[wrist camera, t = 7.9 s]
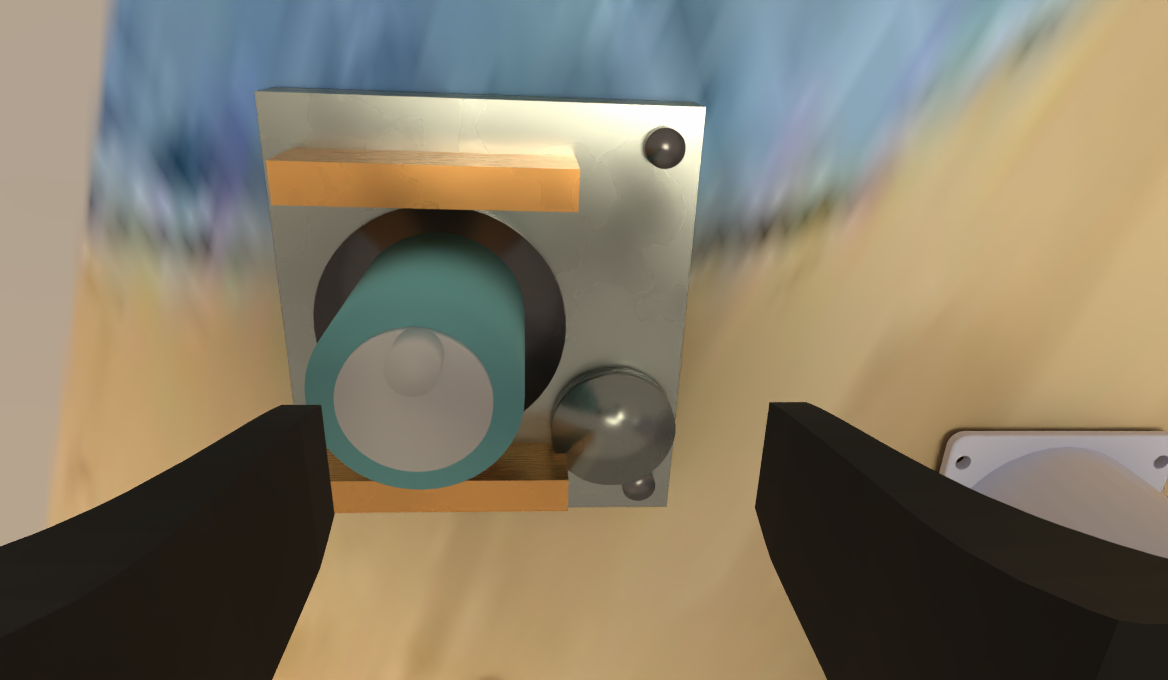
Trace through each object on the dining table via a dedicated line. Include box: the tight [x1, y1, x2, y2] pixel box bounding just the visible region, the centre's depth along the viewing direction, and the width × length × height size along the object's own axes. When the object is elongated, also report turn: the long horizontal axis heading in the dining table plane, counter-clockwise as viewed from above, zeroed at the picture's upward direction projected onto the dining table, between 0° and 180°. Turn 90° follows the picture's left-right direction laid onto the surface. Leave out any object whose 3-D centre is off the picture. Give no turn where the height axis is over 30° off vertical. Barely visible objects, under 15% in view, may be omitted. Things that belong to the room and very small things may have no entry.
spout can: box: [304, 232, 525, 490], centre depth 17 cm, size 4×4×6 cm
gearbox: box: [254, 87, 706, 513], centre depth 20 cm, size 12×11×4 cm
